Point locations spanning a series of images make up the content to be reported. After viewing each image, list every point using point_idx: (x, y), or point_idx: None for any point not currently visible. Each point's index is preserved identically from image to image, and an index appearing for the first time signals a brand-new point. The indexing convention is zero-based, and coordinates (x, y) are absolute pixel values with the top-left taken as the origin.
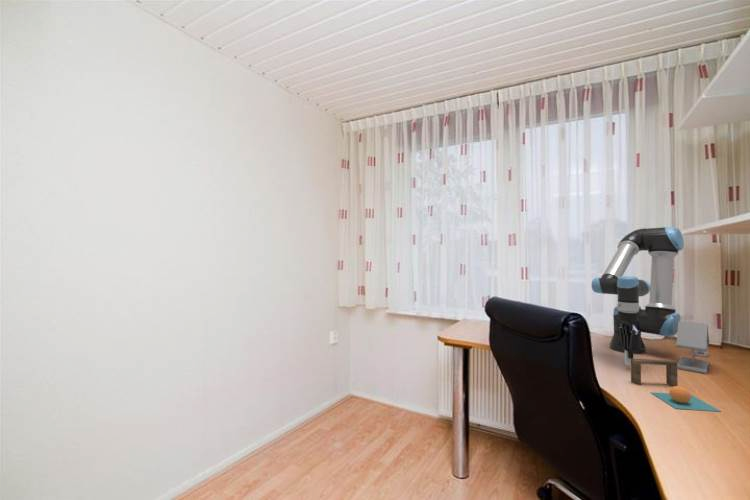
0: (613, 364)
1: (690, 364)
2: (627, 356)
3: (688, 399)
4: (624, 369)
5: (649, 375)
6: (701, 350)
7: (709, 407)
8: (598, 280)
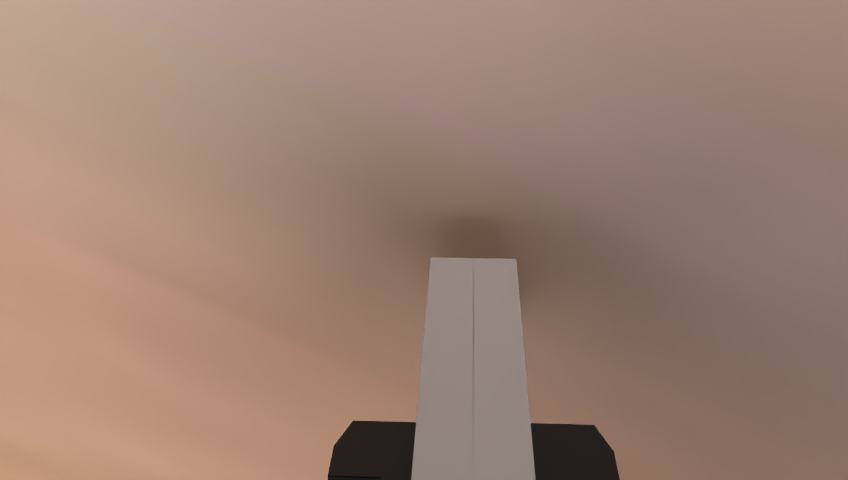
0: (821, 108)
1: None
2: (417, 434)
3: None
4: (449, 169)
5: (170, 407)
6: None
7: None
8: None
